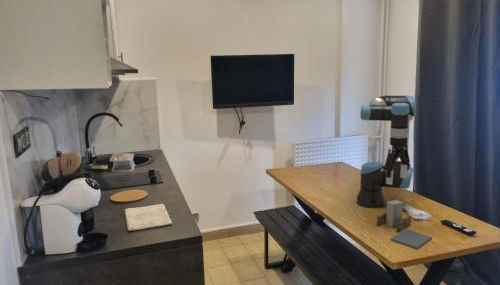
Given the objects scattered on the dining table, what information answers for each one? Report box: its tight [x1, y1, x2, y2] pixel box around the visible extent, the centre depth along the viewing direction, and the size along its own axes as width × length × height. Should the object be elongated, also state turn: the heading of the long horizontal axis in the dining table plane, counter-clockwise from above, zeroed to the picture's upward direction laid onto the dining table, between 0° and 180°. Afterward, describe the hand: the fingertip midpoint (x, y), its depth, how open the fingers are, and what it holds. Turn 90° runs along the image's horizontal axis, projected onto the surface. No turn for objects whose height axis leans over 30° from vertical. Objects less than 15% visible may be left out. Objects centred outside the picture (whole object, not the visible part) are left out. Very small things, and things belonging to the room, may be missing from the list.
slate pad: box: [390, 228, 433, 250], centre depth 169 cm, size 14×12×1 cm
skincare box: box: [385, 199, 404, 229], centre depth 183 cm, size 6×4×12 cm
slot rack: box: [376, 211, 412, 234], centre depth 184 cm, size 12×11×4 cm
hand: (396, 180), depth 180 cm, fingers open, 13 cm apart
